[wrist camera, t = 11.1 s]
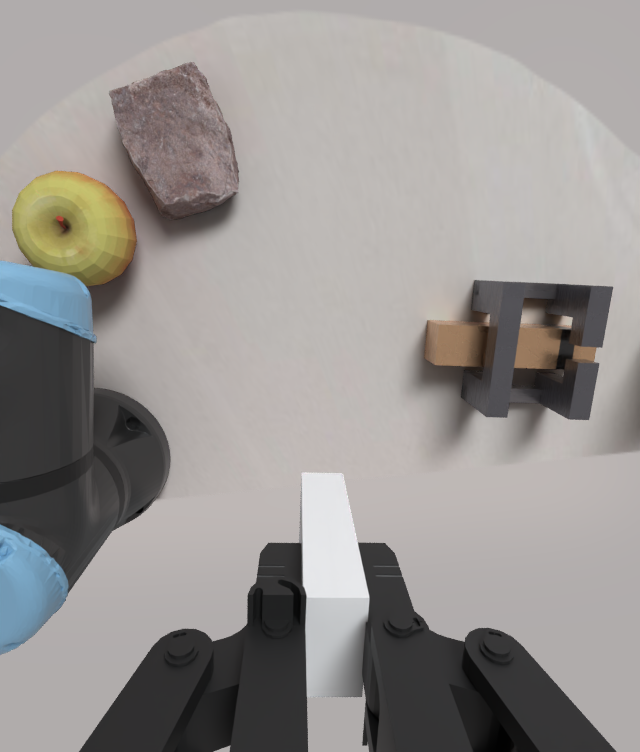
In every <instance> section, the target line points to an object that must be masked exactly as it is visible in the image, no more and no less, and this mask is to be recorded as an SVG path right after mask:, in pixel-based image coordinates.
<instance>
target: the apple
mask: <svg viewBox="0 0 640 752" xmlns="http://www.w3.org/2000/svg"><path fill="white" fill-rule="evenodd" d="M12 230H13V233H14V235H15V238H16V241H17V243H18V246H19V249H20V250H21V252H22V253H23V254H24V256H25V257H26V258H27V259H28V260H29V262H30V263H31V264H32V265H33V267H38V268H43V269H48V270H53V271H58V272H62V273H66V274H70V275H72V276H74V277H76V278H78V279H79V280H80V281H81V282H82V283H83V284H84V285H85V286H93V285H101V284H105V283H107V282H109V281H110V280H112V279H114V278H116V277H117V276H119V275H121V274H122V273H123V271H124V270H125V269H126V267H127V266H128V265H129V263H130V262H131V261H132V259H133V255H134V251H135V246H136V242H137V239H136V232H135V224H134V220H133V218H132V216H131V214H130V212H129V210H128V208H127V206H126V204H125V203H124V201H123V200H121V199H120V198H119V197H118V196H117V195H116V194H115V193H114V192H113V191H112V190H111V189H110V188H109V187H108V186H106V185H105V184H103V183H101V182H99V181H97V180H95V179H93V178H90V177H88V176H86V175H84V174H81V173H78V172H65V171H54V172H51V173H48V174H45V175H42V176H39V177H36V178H35V179H34V180H33V181H32V182H31V183H30V184H28V185H27V186H26V187H25V188H24V189H23V190H22V191H21V192H20V193H19V195H18V198H17V200H16V203H15V205H14V207H13V210H12Z"/></svg>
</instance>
